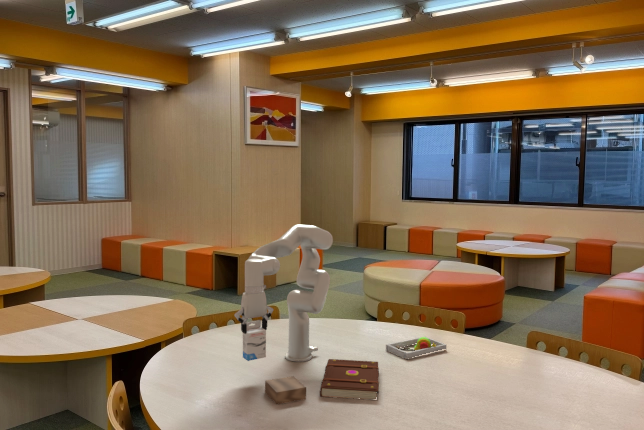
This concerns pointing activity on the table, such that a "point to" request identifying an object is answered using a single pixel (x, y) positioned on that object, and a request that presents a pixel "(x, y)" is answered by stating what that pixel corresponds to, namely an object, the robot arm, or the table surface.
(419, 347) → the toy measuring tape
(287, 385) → the walnut block
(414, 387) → the table surface
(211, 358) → the table surface
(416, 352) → the grey plastic rim
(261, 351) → the ink box
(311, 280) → the robot arm
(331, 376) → the book
